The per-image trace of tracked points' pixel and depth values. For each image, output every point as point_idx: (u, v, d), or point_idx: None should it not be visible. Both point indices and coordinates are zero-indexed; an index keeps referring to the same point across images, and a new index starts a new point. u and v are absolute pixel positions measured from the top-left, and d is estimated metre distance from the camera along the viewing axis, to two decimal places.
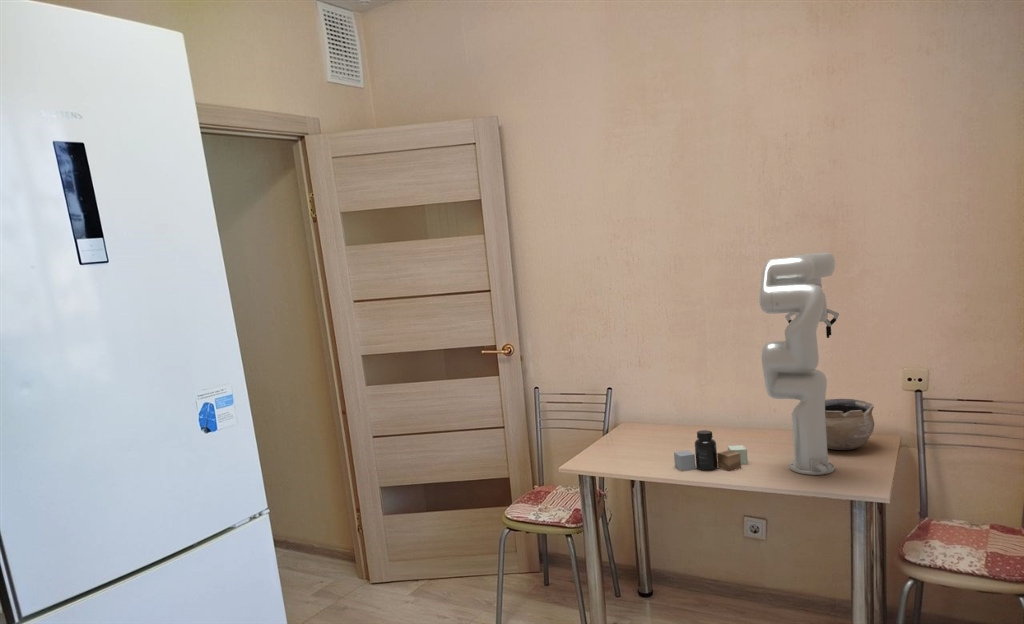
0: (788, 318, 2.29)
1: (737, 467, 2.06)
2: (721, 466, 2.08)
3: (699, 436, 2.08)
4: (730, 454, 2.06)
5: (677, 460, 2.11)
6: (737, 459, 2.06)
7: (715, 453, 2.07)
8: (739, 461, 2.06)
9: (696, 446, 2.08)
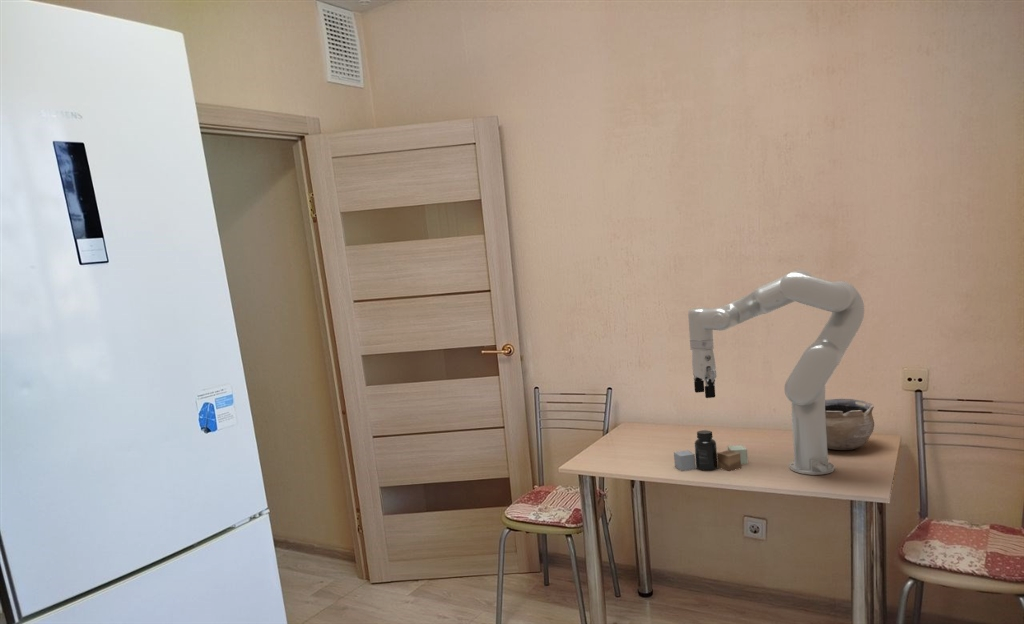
0: None
1: (737, 467, 2.06)
2: (721, 466, 2.08)
3: (699, 436, 2.08)
4: (730, 454, 2.06)
5: (677, 460, 2.11)
6: (737, 459, 2.06)
7: (715, 453, 2.07)
8: (739, 461, 2.06)
9: (696, 446, 2.08)
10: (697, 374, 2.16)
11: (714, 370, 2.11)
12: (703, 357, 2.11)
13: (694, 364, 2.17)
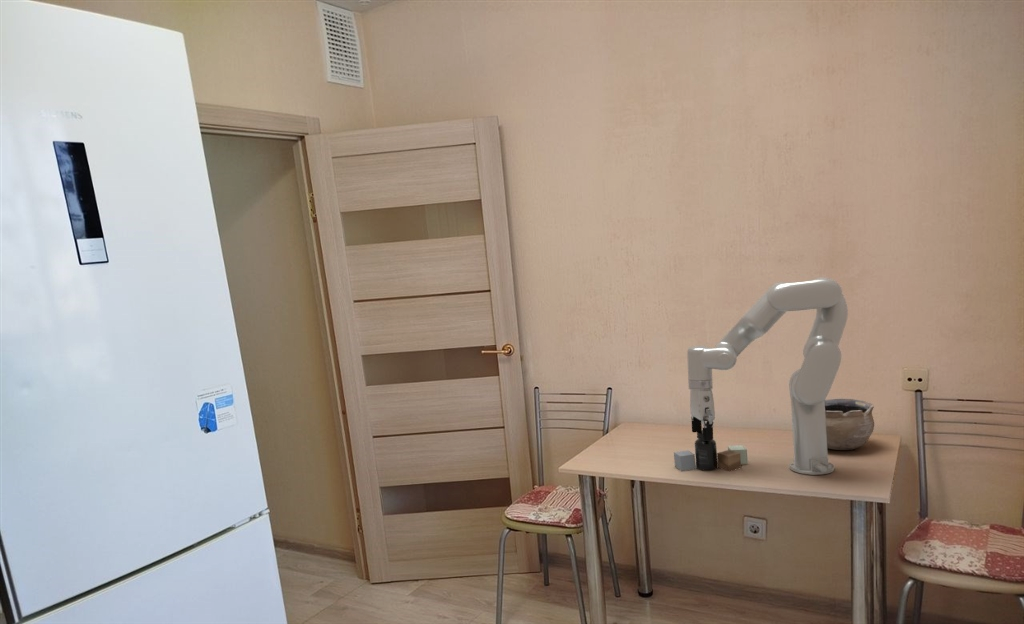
0: None
1: (737, 467, 2.06)
2: (721, 466, 2.08)
3: (699, 436, 2.08)
4: (730, 454, 2.06)
5: (677, 460, 2.11)
6: (737, 459, 2.06)
7: (715, 453, 2.07)
8: (739, 461, 2.06)
9: (696, 446, 2.08)
10: (695, 414, 2.09)
11: (713, 411, 2.04)
12: (702, 398, 2.04)
13: (692, 404, 2.10)
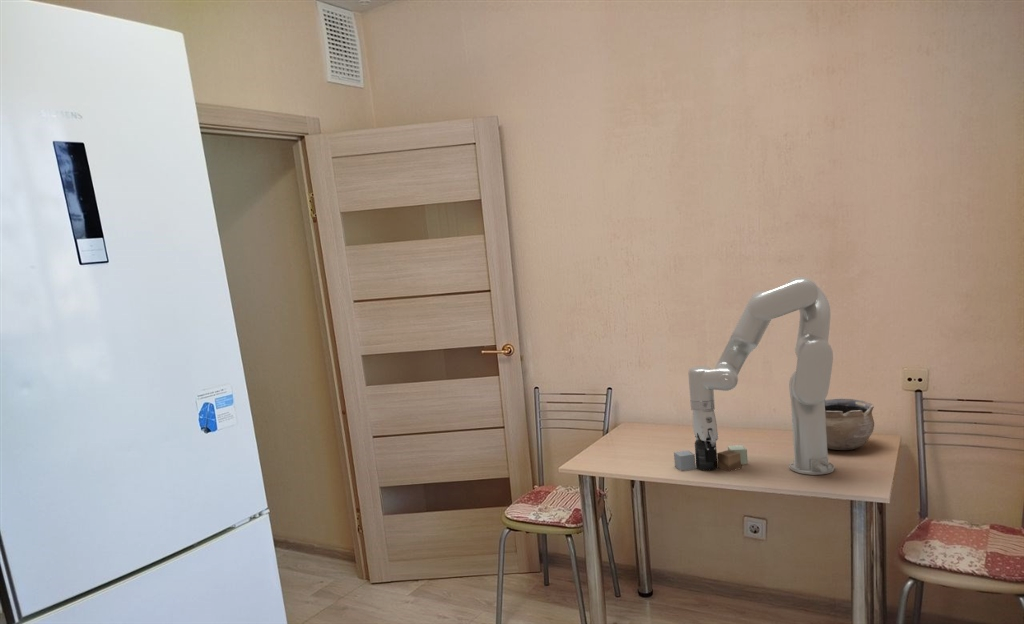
0: None
1: (737, 467, 2.06)
2: (721, 466, 2.08)
3: None
4: (730, 454, 2.06)
5: (677, 460, 2.11)
6: (737, 459, 2.06)
7: (715, 453, 2.07)
8: (739, 461, 2.06)
9: (696, 446, 2.08)
10: None
11: (716, 432, 2.04)
12: (704, 419, 2.04)
13: (695, 424, 2.10)
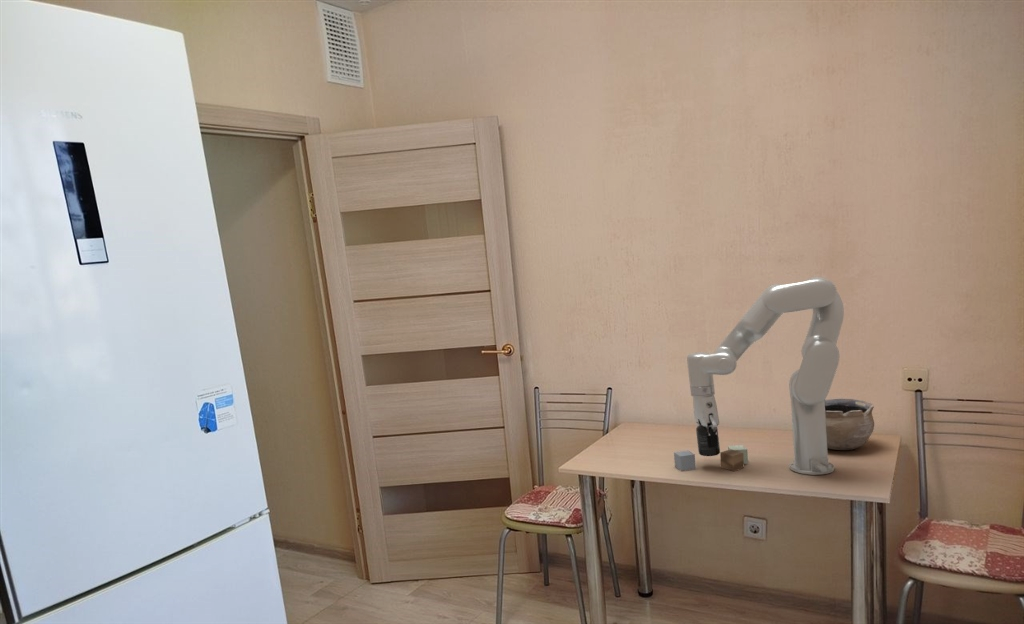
0: None
1: (740, 466, 2.06)
2: (724, 466, 2.07)
3: None
4: (734, 454, 2.05)
5: (677, 460, 2.11)
6: (740, 458, 2.06)
7: (717, 438, 2.07)
8: (742, 460, 2.06)
9: (698, 432, 2.08)
10: None
11: (716, 417, 2.04)
12: (704, 404, 2.04)
13: (695, 410, 2.10)
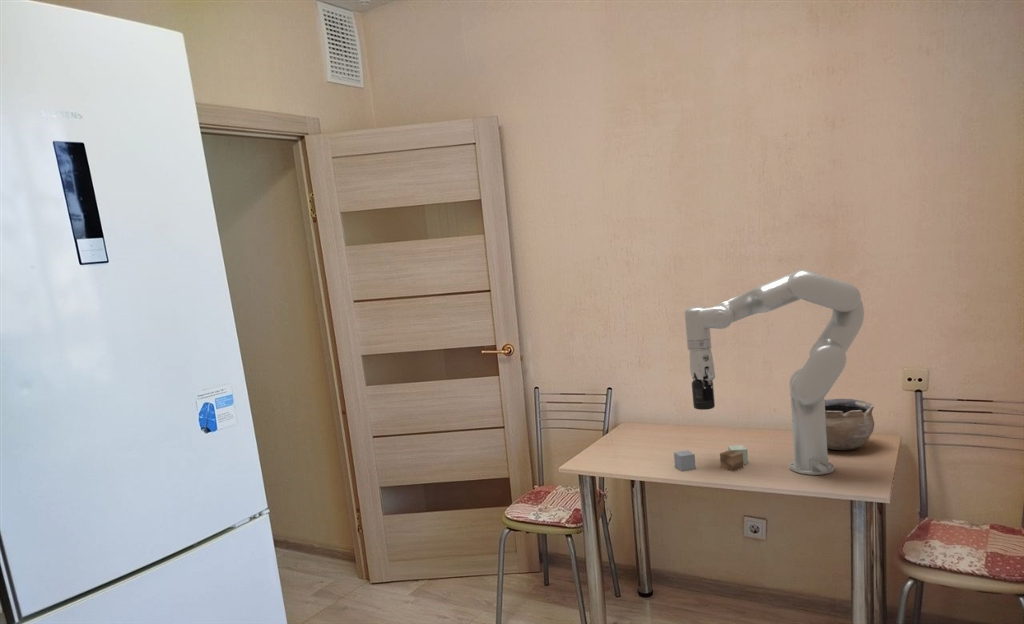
0: None
1: (740, 467, 2.06)
2: (724, 466, 2.07)
3: None
4: (733, 454, 2.06)
5: (677, 460, 2.11)
6: (740, 459, 2.06)
7: None
8: (742, 460, 2.06)
9: (693, 386, 2.09)
10: None
11: (712, 370, 2.05)
12: (701, 357, 2.05)
13: (692, 365, 2.11)
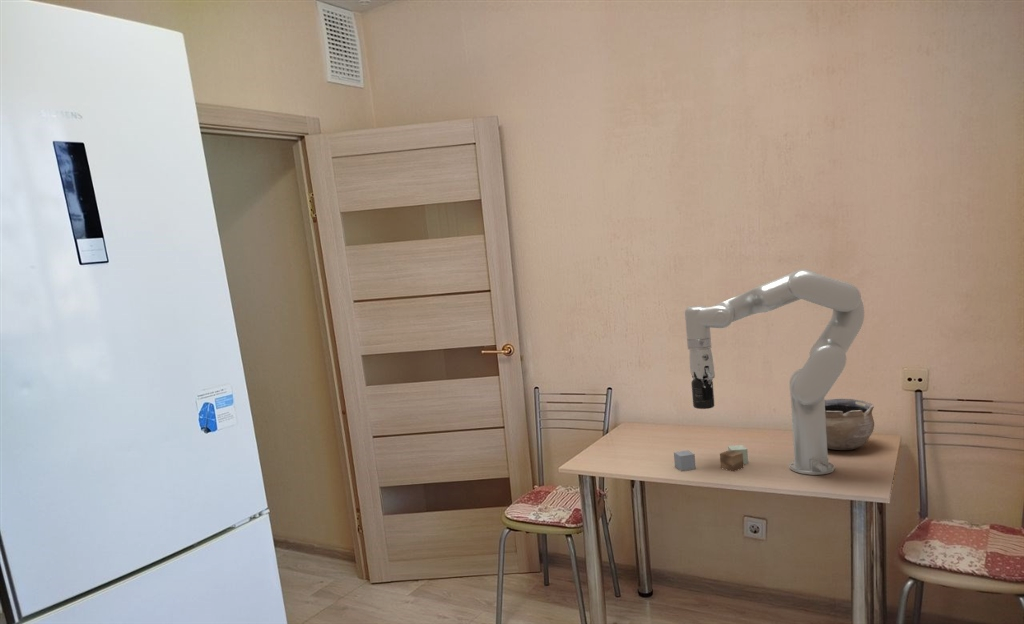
0: None
1: (740, 467, 2.06)
2: (724, 466, 2.07)
3: None
4: (733, 454, 2.06)
5: (677, 460, 2.11)
6: (740, 459, 2.06)
7: (712, 391, 2.08)
8: (742, 460, 2.06)
9: (693, 385, 2.09)
10: None
11: (712, 370, 2.05)
12: (701, 356, 2.05)
13: (692, 364, 2.11)
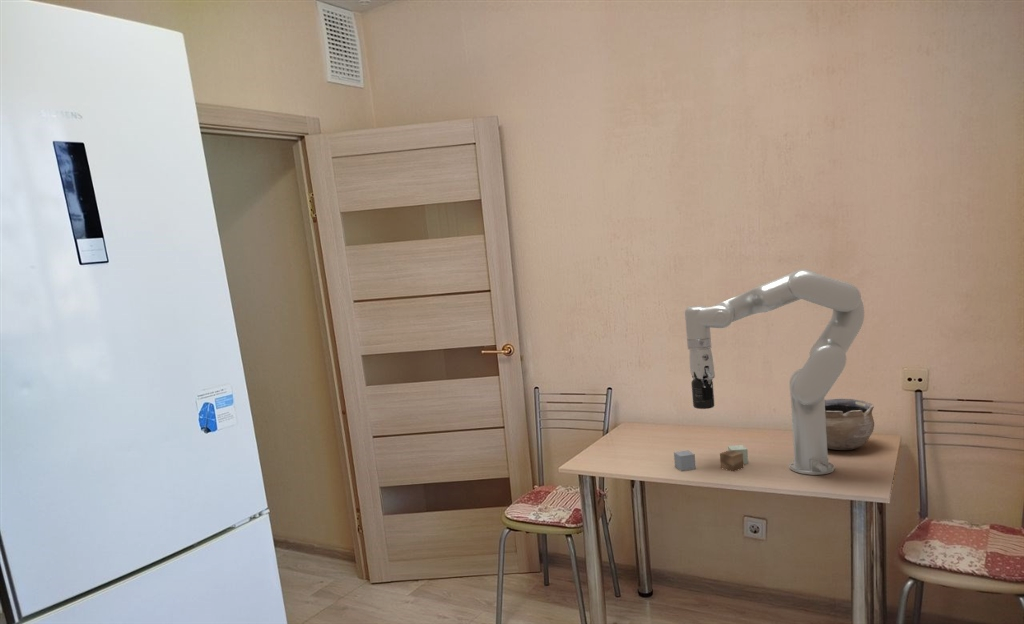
0: None
1: (740, 467, 2.06)
2: (724, 466, 2.07)
3: None
4: (733, 454, 2.06)
5: (677, 460, 2.11)
6: (740, 459, 2.06)
7: (712, 391, 2.08)
8: (742, 460, 2.06)
9: (693, 385, 2.09)
10: None
11: (712, 370, 2.05)
12: (701, 356, 2.05)
13: (692, 364, 2.11)
